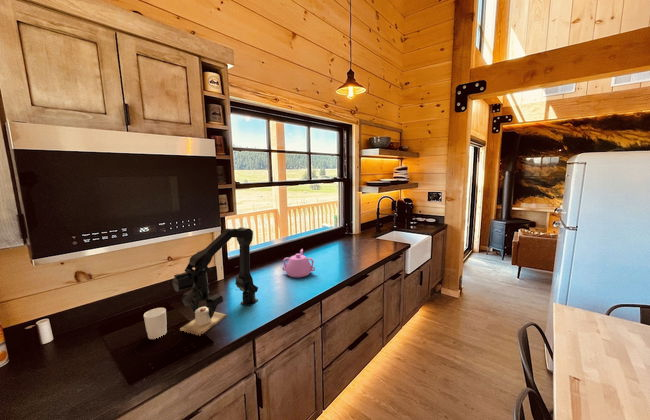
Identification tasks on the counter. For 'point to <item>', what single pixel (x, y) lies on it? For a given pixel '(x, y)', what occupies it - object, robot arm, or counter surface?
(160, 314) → the white cup
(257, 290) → the robot arm
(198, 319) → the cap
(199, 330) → the stud block
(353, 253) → the counter surface
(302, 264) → the teapot
